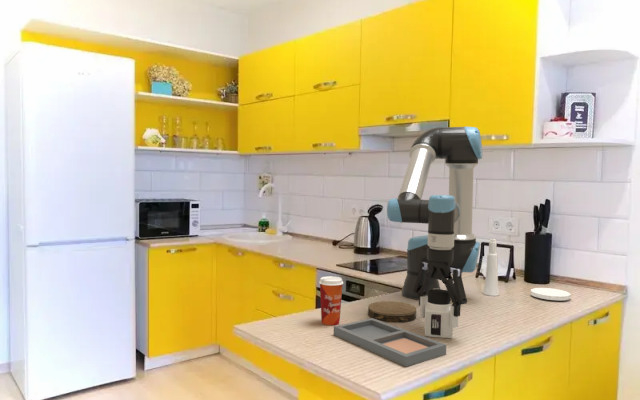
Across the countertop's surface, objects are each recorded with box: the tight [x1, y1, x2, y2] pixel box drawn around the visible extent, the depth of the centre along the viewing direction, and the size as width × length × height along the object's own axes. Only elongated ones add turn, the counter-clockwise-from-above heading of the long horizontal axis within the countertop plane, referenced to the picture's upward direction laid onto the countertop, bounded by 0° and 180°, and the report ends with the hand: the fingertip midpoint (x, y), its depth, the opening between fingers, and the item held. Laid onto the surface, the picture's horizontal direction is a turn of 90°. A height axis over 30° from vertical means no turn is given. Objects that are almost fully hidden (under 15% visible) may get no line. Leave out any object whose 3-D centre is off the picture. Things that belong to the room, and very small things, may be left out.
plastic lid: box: [530, 287, 572, 301], centre depth 189 cm, size 14×14×2 cm
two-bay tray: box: [333, 317, 447, 368], centre depth 134 cm, size 28×15×2 cm, turn 37°
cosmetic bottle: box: [482, 238, 500, 297], centre depth 192 cm, size 6×6×22 cm
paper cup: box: [318, 275, 344, 326], centre depth 152 cm, size 8×8×14 cm
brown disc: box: [367, 300, 417, 324], centre depth 161 cm, size 16×16×3 cm
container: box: [424, 288, 454, 339], centre depth 143 cm, size 8×8×13 cm
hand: (438, 322), depth 143 cm, fingers closed on container, 10 cm apart
